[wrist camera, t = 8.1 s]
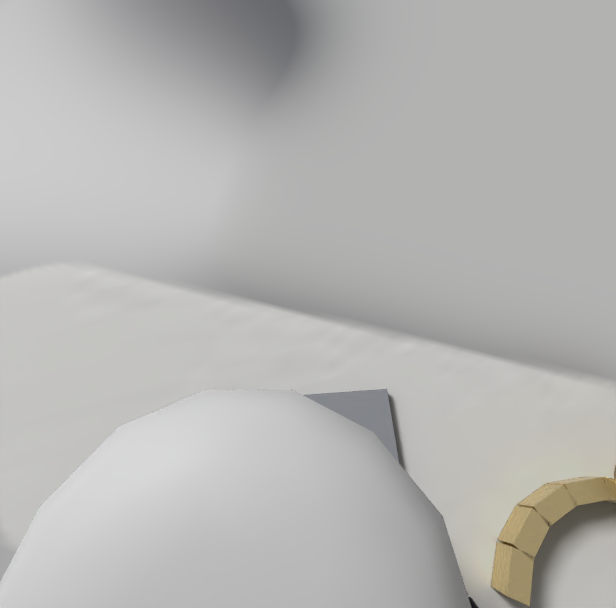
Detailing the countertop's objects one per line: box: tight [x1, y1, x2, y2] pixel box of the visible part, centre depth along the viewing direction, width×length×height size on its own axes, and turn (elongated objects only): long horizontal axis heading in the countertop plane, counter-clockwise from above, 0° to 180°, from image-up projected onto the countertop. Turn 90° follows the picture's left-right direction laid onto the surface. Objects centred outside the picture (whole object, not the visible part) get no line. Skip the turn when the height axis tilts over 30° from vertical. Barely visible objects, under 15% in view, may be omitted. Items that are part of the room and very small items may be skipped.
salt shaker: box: [0, 390, 471, 608], centre depth 8 cm, size 6×6×13 cm
